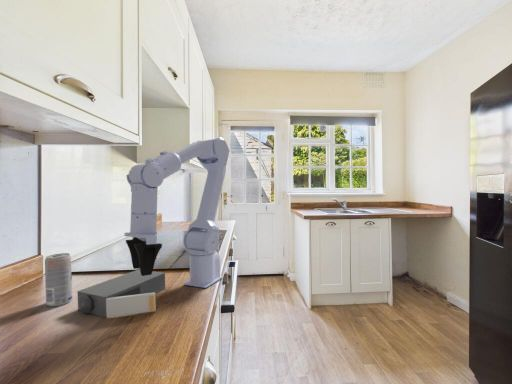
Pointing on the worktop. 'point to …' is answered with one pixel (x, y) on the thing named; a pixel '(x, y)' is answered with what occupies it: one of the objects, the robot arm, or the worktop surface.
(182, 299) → the worktop surface
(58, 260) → the energy drink
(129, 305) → the door
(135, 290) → the camera housing
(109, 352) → the worktop surface
